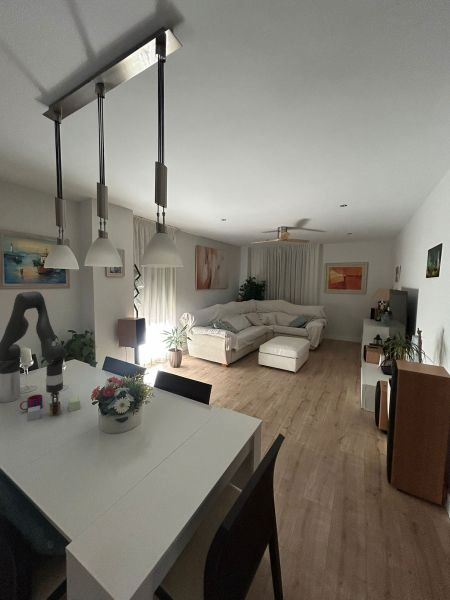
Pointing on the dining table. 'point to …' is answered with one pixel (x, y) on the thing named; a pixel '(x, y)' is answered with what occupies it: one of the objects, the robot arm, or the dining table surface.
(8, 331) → the robot arm
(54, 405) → the walnut cube
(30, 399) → the mug
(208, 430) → the dining table surface
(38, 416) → the slate cube
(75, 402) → the sage cube
